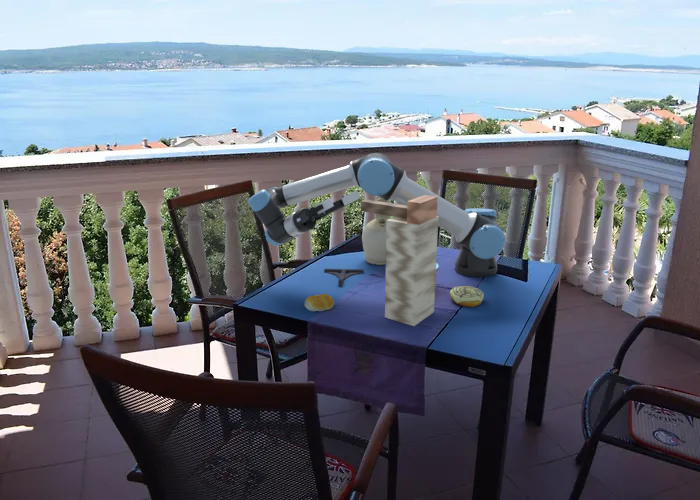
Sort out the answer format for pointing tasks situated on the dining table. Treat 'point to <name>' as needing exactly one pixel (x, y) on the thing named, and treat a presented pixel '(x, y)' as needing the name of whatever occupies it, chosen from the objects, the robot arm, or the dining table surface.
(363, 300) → the dining table surface
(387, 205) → the wooden mallet
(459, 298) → the decorated donut
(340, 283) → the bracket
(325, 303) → the bread roll
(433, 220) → the stand
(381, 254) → the jug
